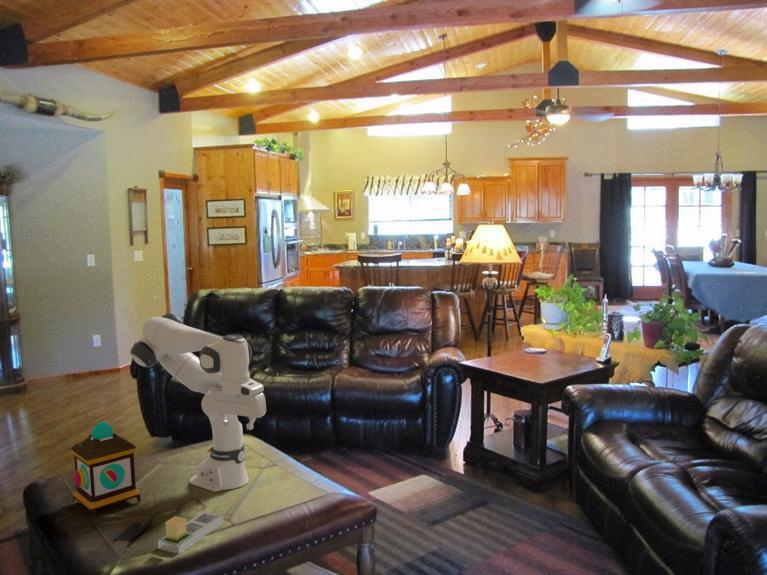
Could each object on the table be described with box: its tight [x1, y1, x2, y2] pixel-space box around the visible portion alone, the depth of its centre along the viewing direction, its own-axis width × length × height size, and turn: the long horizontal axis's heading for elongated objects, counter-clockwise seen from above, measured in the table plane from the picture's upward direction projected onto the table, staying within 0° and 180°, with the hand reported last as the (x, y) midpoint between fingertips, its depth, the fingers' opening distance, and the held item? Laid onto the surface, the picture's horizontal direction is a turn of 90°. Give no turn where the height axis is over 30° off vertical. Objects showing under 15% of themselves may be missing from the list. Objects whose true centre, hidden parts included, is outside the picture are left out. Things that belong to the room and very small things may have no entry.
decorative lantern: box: [70, 421, 141, 519], centre depth 221 cm, size 20×20×30 cm
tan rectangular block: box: [165, 515, 187, 543], centre depth 190 cm, size 4×4×8 cm
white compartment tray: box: [157, 511, 224, 555], centre depth 197 cm, size 8×21×3 cm, turn 157°
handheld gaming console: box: [113, 511, 159, 542], centre depth 199 cm, size 12×7×10 cm
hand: (238, 427), depth 201 cm, fingers open, 8 cm apart
